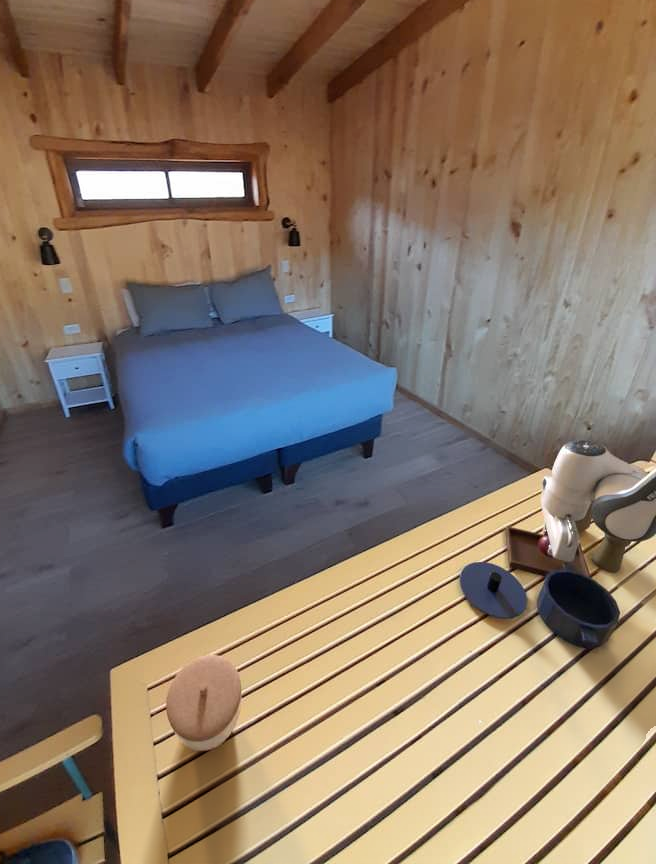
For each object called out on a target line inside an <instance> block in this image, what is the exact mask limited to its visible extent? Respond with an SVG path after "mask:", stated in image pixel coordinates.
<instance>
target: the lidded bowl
mask: <svg viewBox="0 0 656 864" xmlns="http://www.w3.org/2000/svg"><path fill="white" fill-rule="evenodd" d="M165 709H166V711H165V712H166V717H167V719H168V722H169V724H170V727H171V728H172V730H173V733H174V734H175V736H176V737H177V739H178V741H180V742H181V743H182V744H183V745H184V746H185V747H187V748H188V749H190V750H192V751H197V752H204V751H205V752H207V751H210V750H213V749H215V748H217V747H218V746H220V745H222V744H223V743H224V742H225V741H226V740H227V739H228V738H229V737H230V735H231V734H232V732H233V731H234V729H235V728H236V726H237V723H238V720H239V718H240V714H241V709H242V682H241V677H240V674H239V671H238V669H237V668H236V666H235V665H234V664H233V663H232V662H231V661H230V660H229V659H227V658H226V657H224V656H221V655H217V654H206V655H201V656H198V657H196V658H194V659H191V661H189V662H188V663H186V664H185V665H184V666H182V668H181V669H180V670H179V671H178V672H177V674H176V675H175V676H174V678H173V680H172V682H171V684H170V686H169V688H168V691H167V695H166V700H165Z"/></svg>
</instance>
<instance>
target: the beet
mask: <svg viewBox="0 0 656 864" xmlns="http://www.w3.org/2000/svg"><path fill="white" fill-rule="evenodd" d="M548 545H550V541H549V536H548V535H546V536H543V537H541V538H540V540H539V542H538V546H539V549H540V551H541V552H542V553H543V554H544V555H545V556H547V557H551V558H554V557H553V556H551V555H549V554H548V551H547V548H548Z"/></svg>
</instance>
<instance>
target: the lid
mask: <svg viewBox="0 0 656 864" xmlns="http://www.w3.org/2000/svg"><path fill="white" fill-rule="evenodd" d="M459 586H460V590H461V592H462V594H463V595H464V597H465V598H466V599H467V601H468V602H469V603H470V604H471V605H472V606H473V608H475V609H477V610H478V611H480V612H482V613H484V614H485V615H487V616H488V617H489V616H490V617H493V618H495V619H500V620H501V619H502V620H512V619H516V618H519V616H521V615H522V614H523V613H524V612H525V610H526V609H527V605H528V596H527V593H526V591H525V588H524V586H523V585H522V583H521V582H520V581H519V580H518V578H517V577H516V576H515V575H513V573H511V572H510V571H508V570H507V569H505V568H504V567H502V566H501V565H497V564H494V563H491V562H485V561H475V562H471V563H468V564H466V565H465V566H464V567H463V568H462V570H461V572H460V574H459Z"/></svg>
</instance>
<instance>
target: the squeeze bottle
mask: <svg viewBox="0 0 656 864" xmlns="http://www.w3.org/2000/svg"><path fill="white" fill-rule="evenodd" d="M593 503H594V500H593V501H591V503H590V505H589V508H588V510H587V512H586V515H585V517H584V518H583V519H581V520H578V521H575V524H576V528H577V531H578V534H579V536H580V535H581V534H582V533H584V532H585V531H586V530H588V529H589V528H590V527H591V523H592V521H593V520H592V517H591V511H592V507H593Z"/></svg>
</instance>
